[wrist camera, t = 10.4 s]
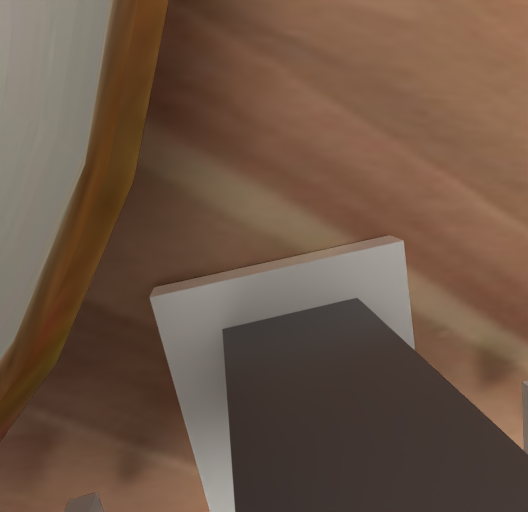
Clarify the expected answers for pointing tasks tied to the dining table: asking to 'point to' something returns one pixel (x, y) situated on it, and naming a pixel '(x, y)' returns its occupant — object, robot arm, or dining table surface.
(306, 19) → the dining table surface
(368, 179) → the dining table surface
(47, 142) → the bowl
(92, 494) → the robot arm
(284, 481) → the block
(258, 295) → the white peg board
